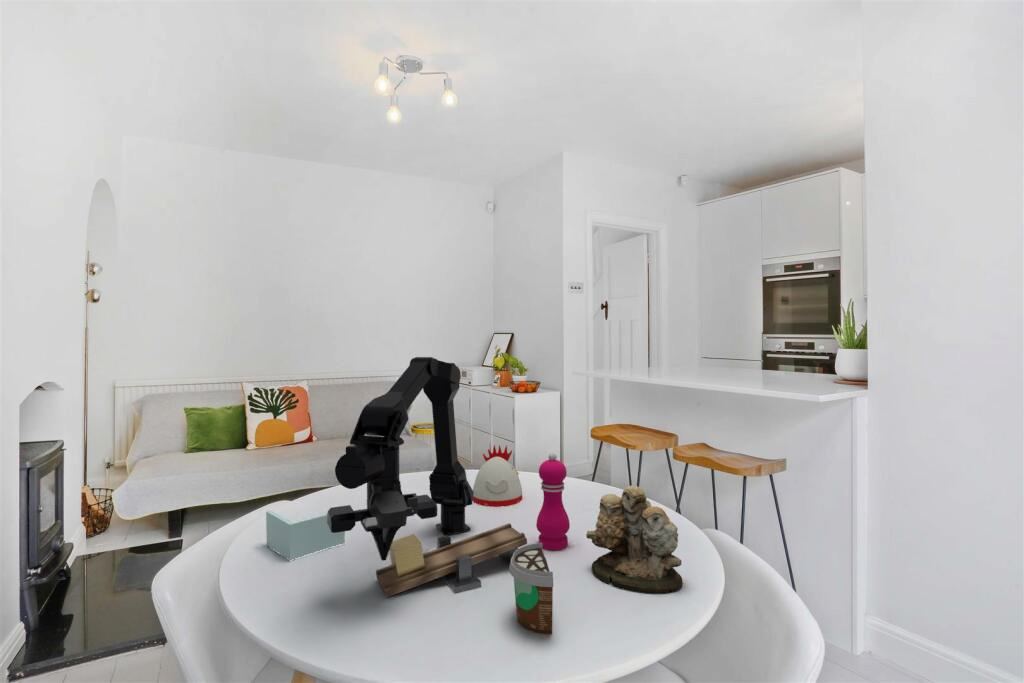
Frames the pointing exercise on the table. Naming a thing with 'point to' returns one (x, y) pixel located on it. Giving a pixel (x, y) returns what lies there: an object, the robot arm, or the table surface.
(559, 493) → the pepper mill
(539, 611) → the food container
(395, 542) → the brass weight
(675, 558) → the owl figurine
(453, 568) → the balance beam
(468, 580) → the stand
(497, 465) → the kitchen timer
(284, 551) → the right angle wall
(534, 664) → the table surface
